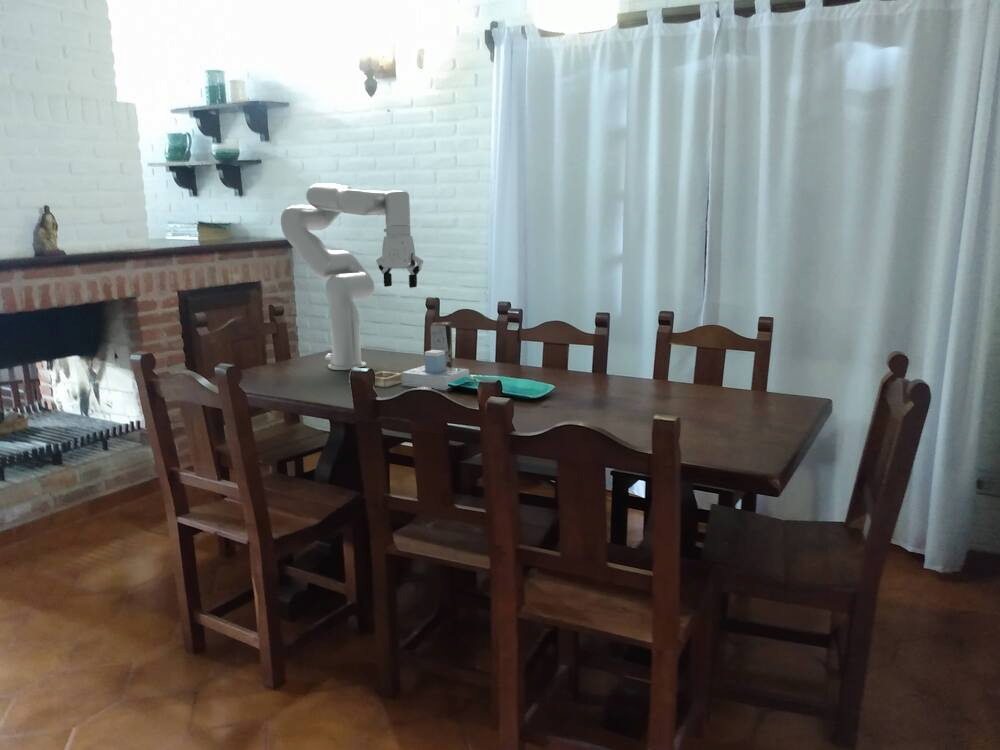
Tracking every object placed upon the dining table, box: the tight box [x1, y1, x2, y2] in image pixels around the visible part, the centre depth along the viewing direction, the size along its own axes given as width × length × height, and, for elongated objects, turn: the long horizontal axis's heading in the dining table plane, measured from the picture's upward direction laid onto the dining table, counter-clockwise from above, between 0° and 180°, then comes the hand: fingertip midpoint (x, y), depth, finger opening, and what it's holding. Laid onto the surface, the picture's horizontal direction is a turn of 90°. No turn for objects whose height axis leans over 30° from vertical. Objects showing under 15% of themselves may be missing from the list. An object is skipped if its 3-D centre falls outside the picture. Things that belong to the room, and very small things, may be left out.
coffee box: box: [429, 321, 454, 368], centre depth 248 cm, size 9×6×16 cm
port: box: [400, 364, 470, 391], centre depth 232 cm, size 16×13×4 cm
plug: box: [424, 349, 445, 374], centre depth 231 cm, size 4×4×9 cm
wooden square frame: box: [374, 370, 402, 388], centre depth 234 cm, size 9×9×2 cm
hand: (400, 286), depth 240 cm, fingers open, 9 cm apart
